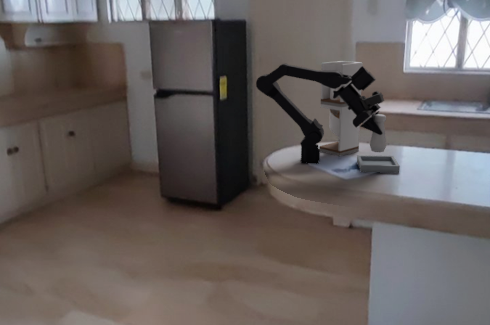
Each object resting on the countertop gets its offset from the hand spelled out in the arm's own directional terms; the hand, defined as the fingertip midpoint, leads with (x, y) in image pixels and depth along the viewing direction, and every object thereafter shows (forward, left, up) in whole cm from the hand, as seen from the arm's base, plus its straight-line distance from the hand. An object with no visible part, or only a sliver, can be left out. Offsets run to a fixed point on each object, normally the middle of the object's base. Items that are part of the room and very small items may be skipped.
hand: (382, 133), depth 177 cm
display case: (-13, +22, -13) cm, 29 cm away
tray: (-1, 0, -13) cm, 13 cm away
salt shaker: (-1, 0, -7) cm, 7 cm away
